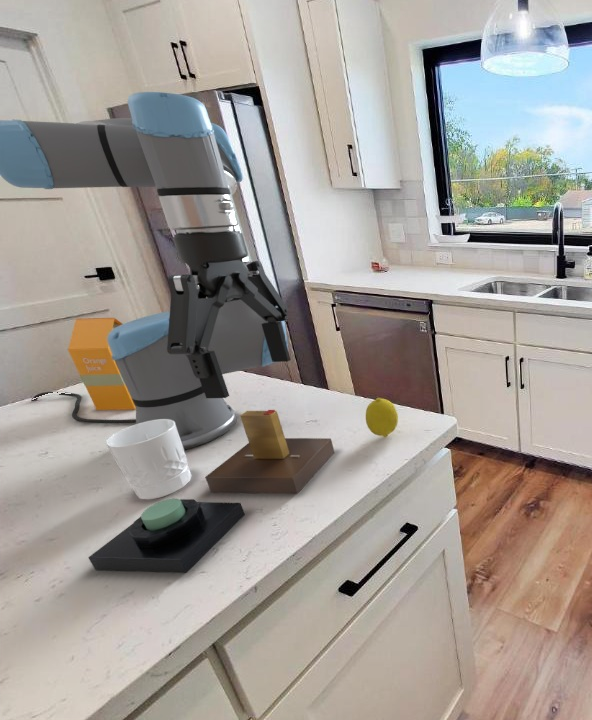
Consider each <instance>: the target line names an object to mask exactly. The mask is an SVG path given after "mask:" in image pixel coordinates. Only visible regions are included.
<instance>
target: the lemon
mask: <svg viewBox="0 0 592 720" xmlns="http://www.w3.org/2000/svg"><path fill="white" fill-rule="evenodd" d="M398 422H399V415H398V412H397V410H396V406H395V405H394V403H392V402H391V401H390V400H388V399H386V398H381V397H376V399H374V400H372V401H371V402H370V403H369V404H368V406H367V407H366V410H365V423H366V426H367V428H368V430H369V431H370V432H371V433H373V434H374V435H376V436H380V437H384V438H386V437H388V436H389V435H390V434H391V433H393V432H394V431H395V429H396V428H397V426H398Z"/></svg>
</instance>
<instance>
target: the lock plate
mask: <svg viewBox="0 0 592 720" xmlns="http://www.w3.org/2000/svg"><path fill="white" fill-rule="evenodd" d="M285 440H286V443H287V447H288V450H289V454H288V455H287V456H286V457H285V458H284V459H255V458H254V456H253V453H252V450H251V447H250V444H249V442H248V443H246V444H245V445H244V446H243V447H241V448H240V449H238V451H236V452H235V453H234V454H233V455H232V456H231V455H230V457H229V458H228V459H226V460H225V461H224V462H222V463H221V464H220V465H218V466H217V467H216V468H215V469H213V470H212V471H211V472H210V473H209V474H207V475H205V477H204V478H205V480H206V483H207V486H208V488H209V491H210V493H211V494H262V495H263V494H266V495H267V494H268V495H269V494H271V495H278V494H279V495H298V494H300V492H301V491H302V490H303V489H304V488H305V487H306V486H307V484H309V482H310V481H311V480H312V479H313V478H314V476H315V475H317V473H318V472H319V471H320V470H321V469H322V467H323V466H325V464H326V463H327V462H328V461H329V460H330V458H331V457H332V456H333V455H334V454H335V449H334V444H333V440H332V438H330V437H329V438H327V437H326V438H325V437H324V438H321V437H320V438H318V437H315V438H313V437H312V438H311V437H308V438H307V437H306V438H305V437H304V438H303V437H295V438H294V437H285Z"/></svg>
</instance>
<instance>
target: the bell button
mask: <svg viewBox="0 0 592 720" xmlns="http://www.w3.org/2000/svg"><path fill="white" fill-rule="evenodd" d="M185 512H186V511H185V509H184V507H183V504H182V502H181V500H180V499H179V498H167V499H164V500H160V501H158V502H156V503H154V504H151V505H150V506H149V507H147V508H146V509H145V510H144V511H143V512H142V513H141V515H140V517H141V519H142V521H143V523H144V525H145V527H146V529H148V530H157V529H160V528H164V527H167V526H169V525H171V524H173V523H175V522H177V521H178V520H179V519H181V518H182V517H183V516H184V515H185Z"/></svg>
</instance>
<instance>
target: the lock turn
mask: <svg viewBox="0 0 592 720" xmlns="http://www.w3.org/2000/svg"><path fill="white" fill-rule="evenodd" d="M239 418H240V420H241V423H242V426H243V429H244V431H245V434H246V437H247V441H248V443H249V444H250V447H251V450H252V453H253V456H254V458H255V459H284V458H285V457H286V456H287V455H288V454H289V450H288V447H287V443H286V440H285V438H286V437H285V433H284V429H283V426H282V423H281V420H280V417H279V414H278V411H277V410H276V409H268V410H246V411H244V412H243V413H241V414H240V415H239Z"/></svg>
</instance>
